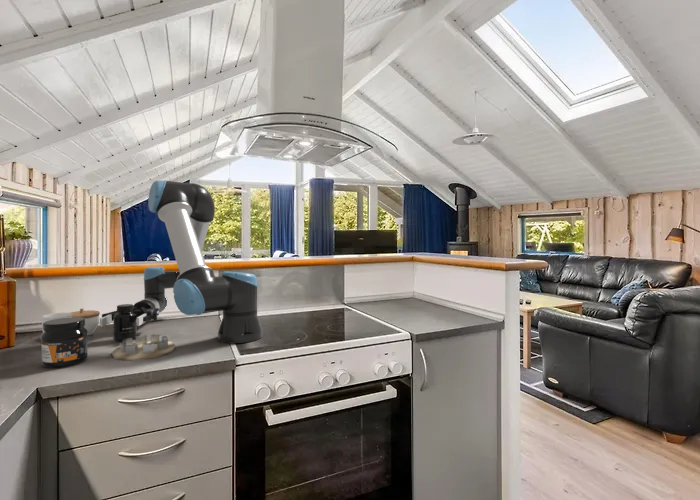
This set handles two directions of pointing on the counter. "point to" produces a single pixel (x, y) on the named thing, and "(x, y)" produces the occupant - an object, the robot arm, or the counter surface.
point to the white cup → (55, 317)
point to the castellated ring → (131, 349)
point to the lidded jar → (88, 319)
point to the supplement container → (64, 342)
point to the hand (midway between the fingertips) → (119, 322)
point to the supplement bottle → (124, 323)
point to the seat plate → (140, 355)
